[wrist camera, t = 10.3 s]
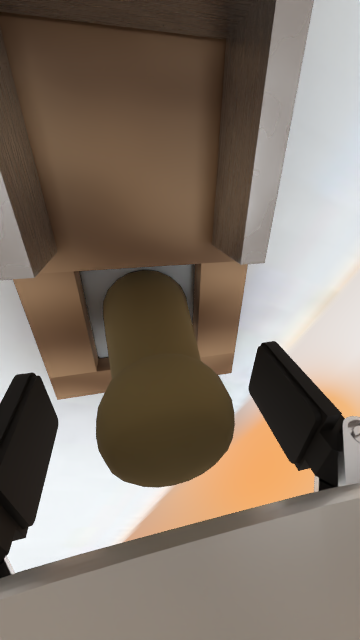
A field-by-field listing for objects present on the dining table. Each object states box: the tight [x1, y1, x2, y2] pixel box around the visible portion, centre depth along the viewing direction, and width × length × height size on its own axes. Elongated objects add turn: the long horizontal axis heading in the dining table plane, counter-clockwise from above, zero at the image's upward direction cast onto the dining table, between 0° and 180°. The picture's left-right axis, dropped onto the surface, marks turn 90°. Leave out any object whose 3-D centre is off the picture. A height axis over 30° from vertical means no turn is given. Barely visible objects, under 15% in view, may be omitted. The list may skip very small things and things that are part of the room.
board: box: [0, 12, 248, 400], centre depth 13 cm, size 28×14×2 cm, turn 0°
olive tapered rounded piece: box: [96, 270, 234, 487], centre depth 12 cm, size 6×6×11 cm
